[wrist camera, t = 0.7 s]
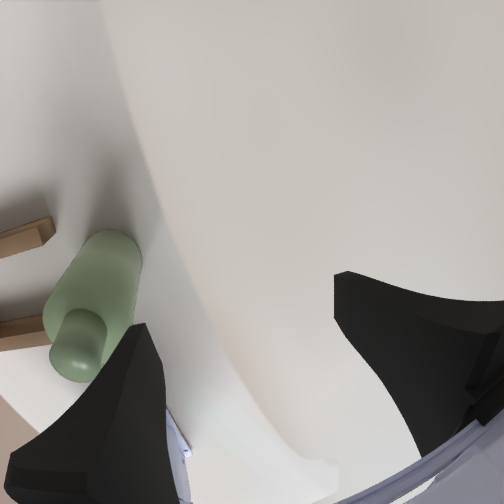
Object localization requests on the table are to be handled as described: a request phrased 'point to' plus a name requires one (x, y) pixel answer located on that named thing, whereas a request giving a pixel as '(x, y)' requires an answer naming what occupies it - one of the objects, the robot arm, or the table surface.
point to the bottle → (93, 305)
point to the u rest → (32, 328)
